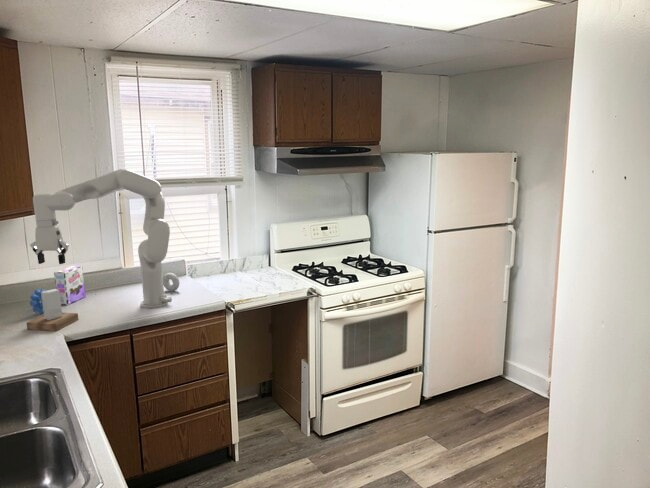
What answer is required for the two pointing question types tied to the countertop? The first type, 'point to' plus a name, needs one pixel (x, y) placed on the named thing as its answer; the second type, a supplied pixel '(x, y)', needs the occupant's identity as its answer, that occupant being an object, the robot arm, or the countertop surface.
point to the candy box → (70, 284)
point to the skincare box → (51, 304)
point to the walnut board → (52, 322)
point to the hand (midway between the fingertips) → (52, 263)
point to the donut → (174, 280)
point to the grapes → (37, 301)
